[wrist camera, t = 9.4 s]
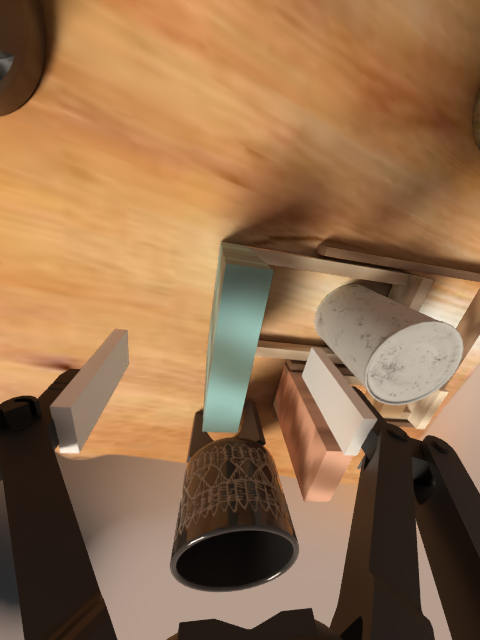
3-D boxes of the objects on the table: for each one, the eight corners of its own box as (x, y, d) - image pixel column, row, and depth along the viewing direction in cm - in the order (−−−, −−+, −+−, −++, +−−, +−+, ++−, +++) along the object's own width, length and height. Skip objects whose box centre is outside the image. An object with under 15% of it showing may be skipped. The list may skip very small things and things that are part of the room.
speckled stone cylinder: (342, 271, 30) (418, 303, 19) (392, 303, 33) (484, 347, 21) (301, 329, 33) (345, 386, 22) (349, 354, 36) (410, 416, 24)
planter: (270, 436, 41) (305, 575, 25) (201, 453, 41) (192, 602, 25) (257, 382, 36) (292, 514, 20) (178, 401, 36) (148, 548, 20)
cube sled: (284, 363, 35) (327, 451, 22) (427, 375, 39) (536, 456, 26) (273, 403, 38) (304, 501, 25) (406, 410, 42) (493, 499, 29)
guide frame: (318, 244, 28) (327, 246, 26) (493, 275, 32) (514, 279, 30) (271, 409, 39) (274, 421, 36) (408, 416, 43) (419, 427, 41)
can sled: (220, 241, 27) (225, 263, 14) (408, 272, 31) (553, 313, 18) (207, 344, 32) (202, 431, 19) (368, 359, 36) (456, 440, 23)
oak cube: (371, 379, 38) (387, 396, 35) (392, 381, 39) (410, 398, 35) (362, 398, 40) (377, 416, 36) (382, 399, 40) (399, 417, 37)
